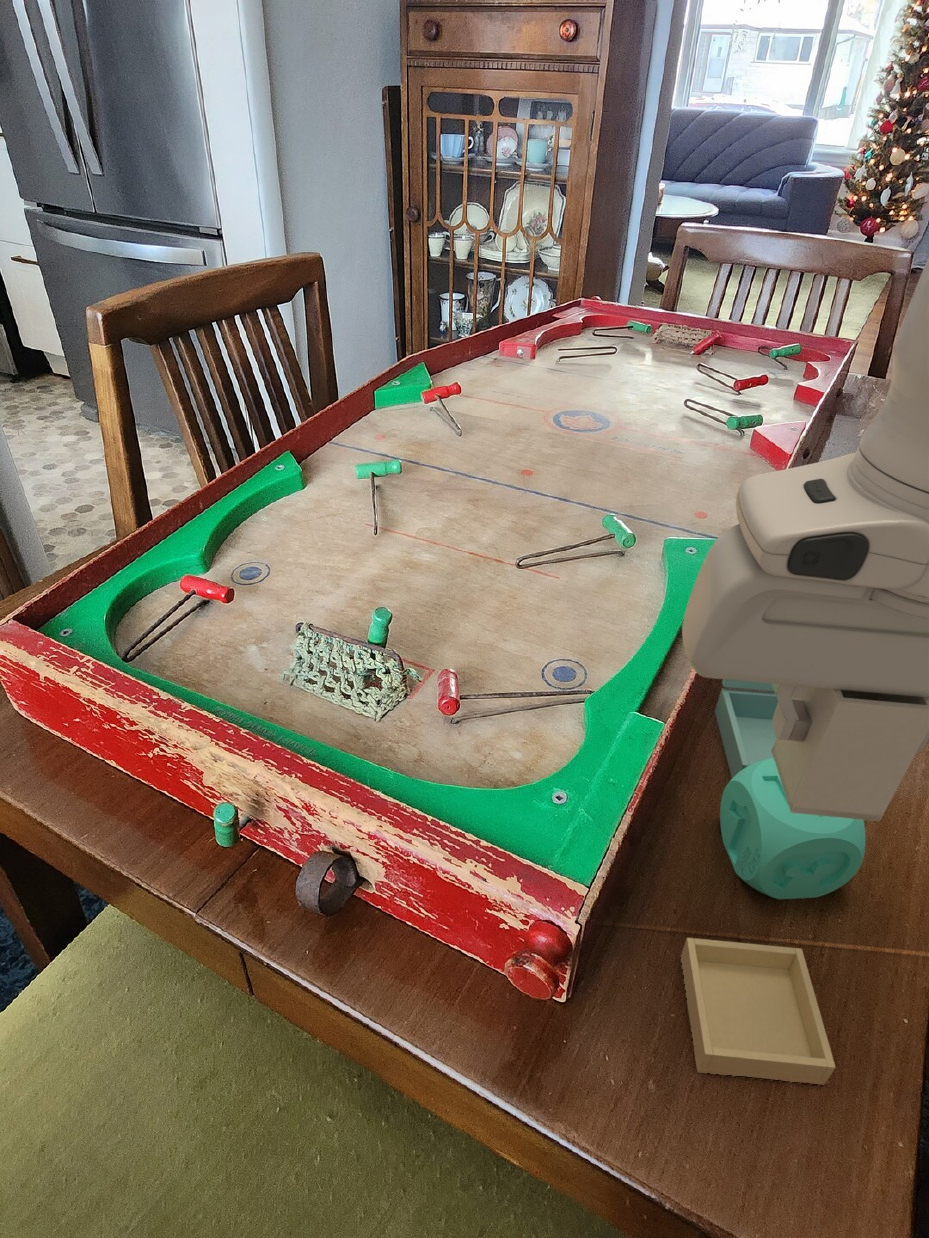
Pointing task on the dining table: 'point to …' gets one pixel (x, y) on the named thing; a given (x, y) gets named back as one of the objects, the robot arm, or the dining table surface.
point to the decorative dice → (785, 838)
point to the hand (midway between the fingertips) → (842, 738)
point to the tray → (754, 1012)
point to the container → (851, 752)
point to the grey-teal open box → (746, 726)
